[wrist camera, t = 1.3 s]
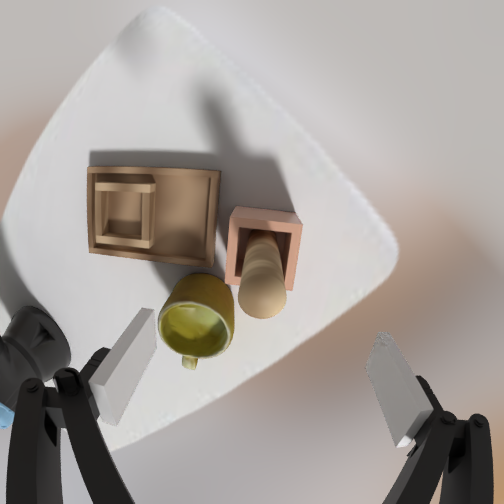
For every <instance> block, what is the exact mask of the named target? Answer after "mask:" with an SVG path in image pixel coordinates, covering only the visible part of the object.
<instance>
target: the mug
mask: <svg viewBox="0 0 504 504" xmlns="http://www.w3.org/2000/svg"><path fill="white" fill-rule="evenodd" d="M158 331H159V334H160V337H161V339H162V340H163V342H164V343H165V344H166V345H167V346H168V347H169V348H170V349H171V350H173V351H174V352H176V353H178V354H181V355H183V358H182V365H183V366H184V367H185V368H188V369H192V370H195V368H196V365H197V360H198V358H199V359H207V358H212V357H216V356H218V355H220V354H221V353H223V352H224V351H225V350H226V349H227V348H228V346H229V345H230V343H231V340H232V338H233V333H234V299H233V296H232V293H231V291H230V289H229V288H228V287H227V285H226V284H225V283H224V282H223V281H222V280H220V279H219V278H217V277H215V276H213V275H210V274H207V273H194V274H190V275H187V276H185V277H184V278H182V279H181V280H180V281H179V282H178V283H177V284H176V286H175V287H174V290H173V292H172V293H171V295H170V296H169V298H168V299H167V301H166V302H165V304H164V306H163V307H162V309H161V311H160V314H159V317H158Z"/></svg>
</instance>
